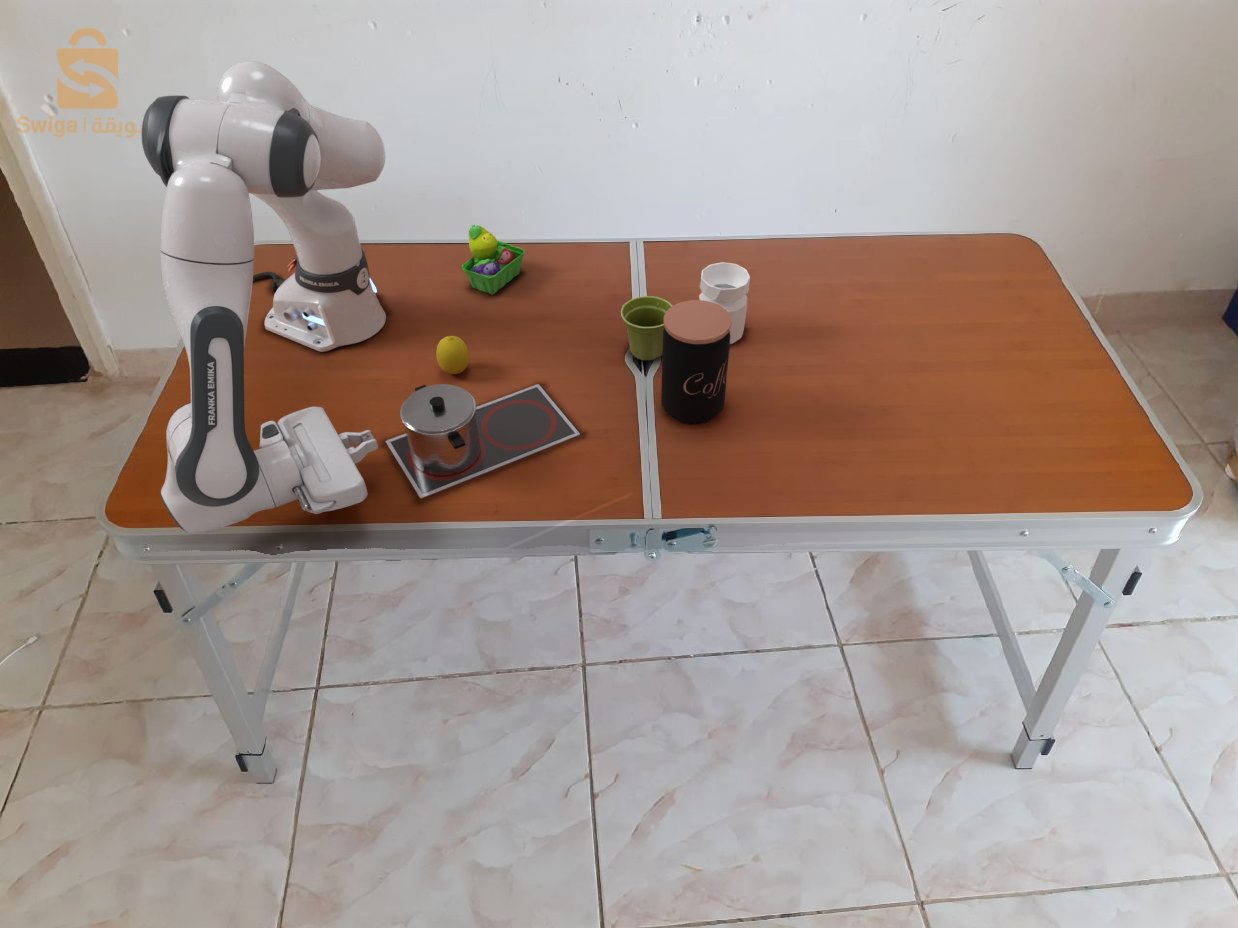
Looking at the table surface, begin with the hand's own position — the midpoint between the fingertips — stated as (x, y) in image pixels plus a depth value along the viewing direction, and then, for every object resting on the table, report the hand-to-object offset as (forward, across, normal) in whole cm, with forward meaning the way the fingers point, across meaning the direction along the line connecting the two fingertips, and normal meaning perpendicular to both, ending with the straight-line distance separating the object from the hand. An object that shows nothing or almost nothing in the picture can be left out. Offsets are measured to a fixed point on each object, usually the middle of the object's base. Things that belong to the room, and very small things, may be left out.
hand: (374, 438), depth 144 cm
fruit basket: (+38, +42, +8) cm, 57 cm away
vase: (+67, +4, +9) cm, 68 cm away
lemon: (+20, +18, +9) cm, 29 cm away
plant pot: (+52, +6, +9) cm, 53 cm away
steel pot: (+11, 0, +8) cm, 13 cm away
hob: (+17, 0, +8) cm, 19 cm away
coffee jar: (+51, -11, +9) cm, 53 cm away
